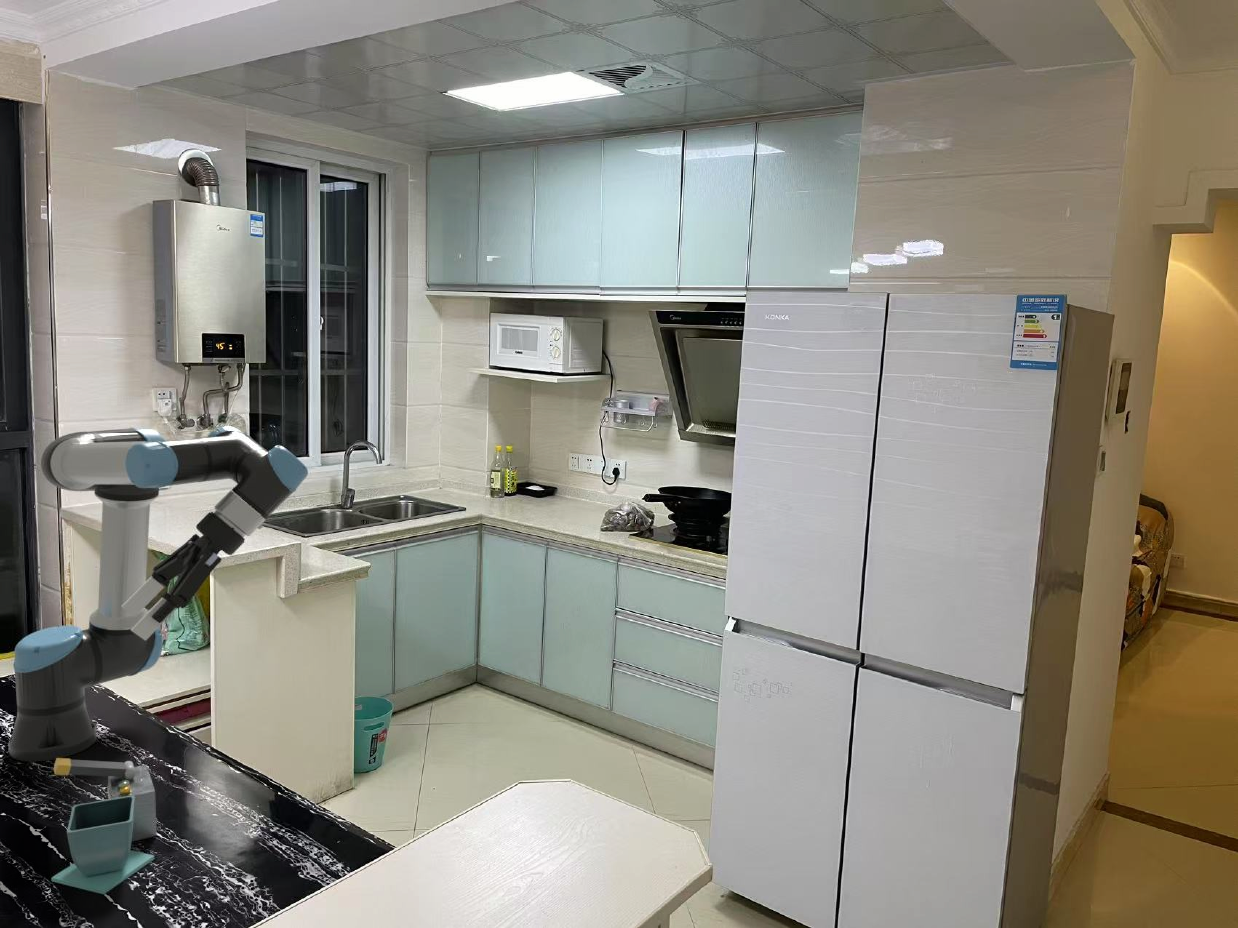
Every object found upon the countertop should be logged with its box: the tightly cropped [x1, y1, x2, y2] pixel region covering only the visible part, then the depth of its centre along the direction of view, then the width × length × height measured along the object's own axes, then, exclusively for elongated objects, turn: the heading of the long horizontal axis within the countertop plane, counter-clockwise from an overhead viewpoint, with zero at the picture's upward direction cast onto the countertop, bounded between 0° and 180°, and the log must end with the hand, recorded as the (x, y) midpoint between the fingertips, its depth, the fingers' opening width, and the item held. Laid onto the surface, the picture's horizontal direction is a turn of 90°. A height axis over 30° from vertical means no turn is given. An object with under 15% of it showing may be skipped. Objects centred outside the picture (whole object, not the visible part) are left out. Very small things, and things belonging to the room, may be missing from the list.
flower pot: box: [66, 796, 135, 876], centre depth 145 cm, size 9×9×9 cm
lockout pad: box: [50, 849, 155, 895], centre depth 145 cm, size 10×10×1 cm
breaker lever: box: [53, 757, 136, 779], centre depth 156 cm, size 2×4×12 cm
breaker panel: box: [106, 764, 158, 843], centre depth 158 cm, size 6×11×9 cm, turn 34°
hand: (132, 623), depth 149 cm, fingers open, 13 cm apart
